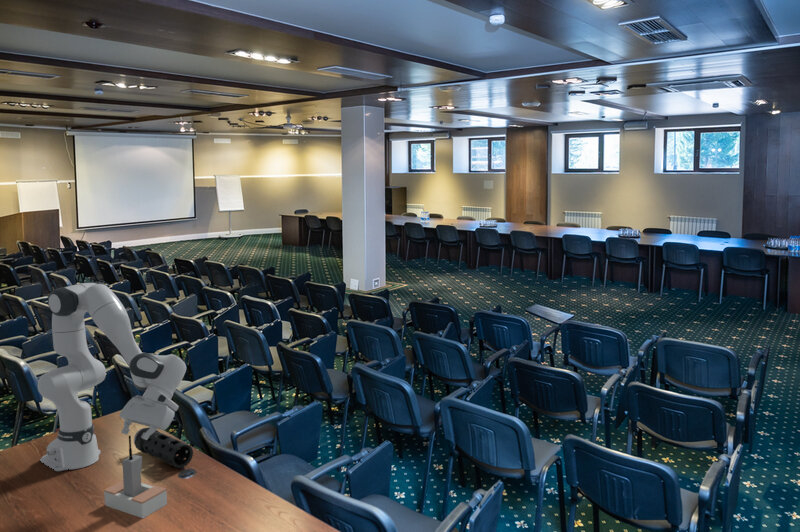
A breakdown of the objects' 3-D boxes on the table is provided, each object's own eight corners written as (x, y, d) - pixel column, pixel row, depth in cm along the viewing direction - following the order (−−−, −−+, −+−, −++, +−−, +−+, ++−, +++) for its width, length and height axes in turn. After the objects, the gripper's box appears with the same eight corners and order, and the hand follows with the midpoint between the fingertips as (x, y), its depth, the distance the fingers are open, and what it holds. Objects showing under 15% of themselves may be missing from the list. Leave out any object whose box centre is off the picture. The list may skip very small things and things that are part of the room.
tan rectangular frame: (105, 505, 208) (104, 489, 207) (129, 492, 217) (128, 477, 216) (143, 518, 200) (142, 502, 199) (167, 504, 209) (166, 488, 208)
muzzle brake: (172, 474, 230) (171, 448, 229) (132, 454, 247) (131, 430, 246) (194, 465, 238) (193, 440, 236) (154, 447, 255) (153, 423, 253)
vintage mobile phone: (144, 502, 210) (140, 432, 206) (133, 510, 205) (129, 438, 202) (135, 501, 211) (131, 431, 208) (124, 508, 206) (120, 436, 203)
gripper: (129, 390, 215) (106, 426, 208) (171, 399, 206) (149, 437, 199) (140, 398, 220) (118, 434, 213) (182, 408, 211) (161, 445, 204)
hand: (133, 436), depth 206 cm, fingers open, 8 cm apart
